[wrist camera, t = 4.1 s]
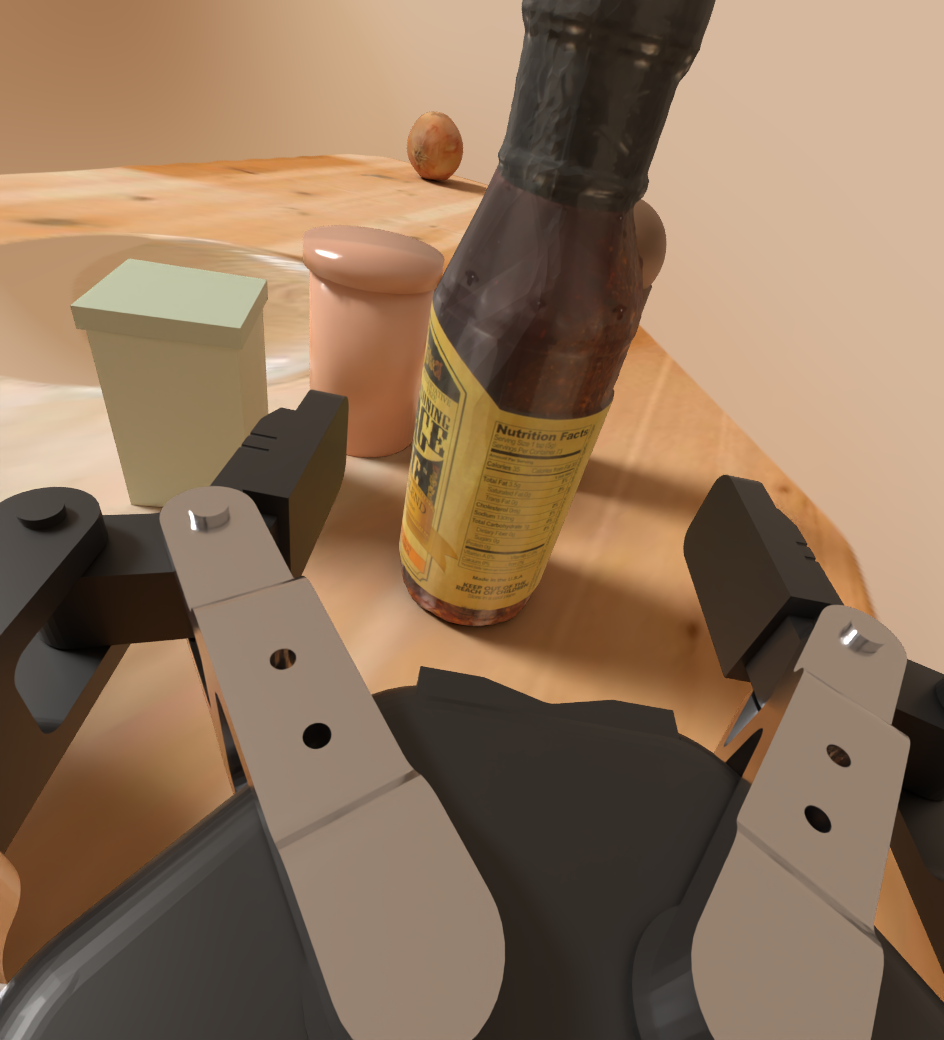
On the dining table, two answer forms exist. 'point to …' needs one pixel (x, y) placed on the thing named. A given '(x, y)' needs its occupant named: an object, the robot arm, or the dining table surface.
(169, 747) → the dining table surface
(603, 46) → the sauce bottle
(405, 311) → the terracotta jar
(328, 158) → the dining table surface
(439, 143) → the onion
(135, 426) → the sage tin
